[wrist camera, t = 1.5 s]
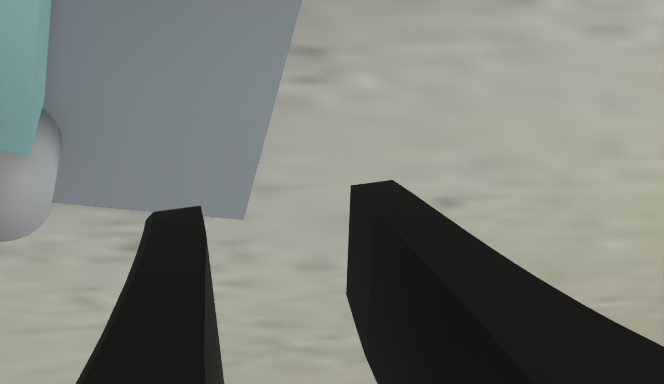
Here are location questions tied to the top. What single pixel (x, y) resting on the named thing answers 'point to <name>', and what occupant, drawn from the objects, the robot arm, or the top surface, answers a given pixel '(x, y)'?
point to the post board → (164, 99)
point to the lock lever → (25, 119)
